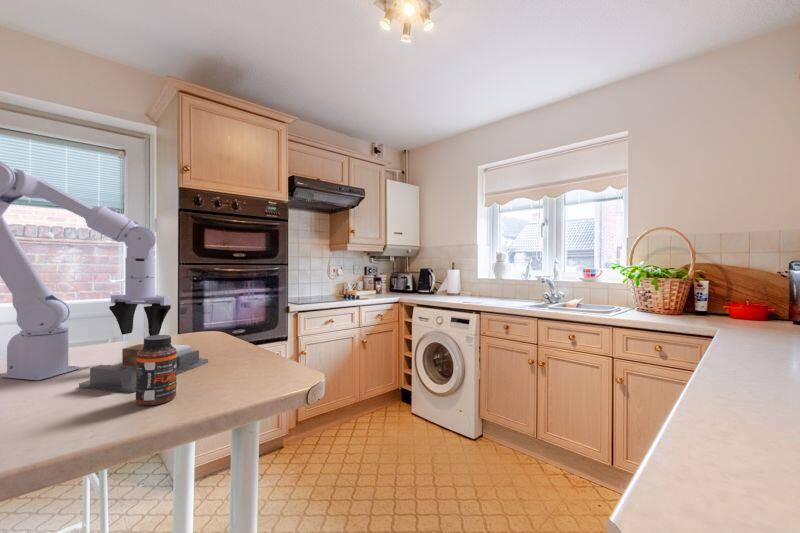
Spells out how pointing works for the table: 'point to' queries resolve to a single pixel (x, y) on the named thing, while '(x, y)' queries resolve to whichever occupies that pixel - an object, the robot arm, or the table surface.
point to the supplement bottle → (156, 371)
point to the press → (132, 374)
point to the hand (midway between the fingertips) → (140, 334)
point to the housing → (131, 355)
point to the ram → (182, 349)
